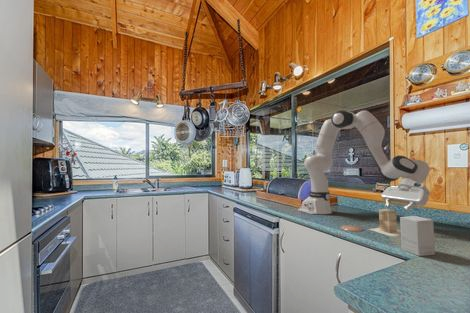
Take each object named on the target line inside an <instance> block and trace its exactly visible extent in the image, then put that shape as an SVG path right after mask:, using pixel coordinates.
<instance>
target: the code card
mask: <svg viewBox="0 0 470 313" xmlns="http://www.w3.org/2000/svg"><path fill="white" fill-rule="evenodd" d="M368 230H369V231H373V232H376V233H378V234H383V235H385V236H388V237H397V236H401V229H400V230H399V229H397V232H394V233H387V232H384V231H380V227H375V228H368Z"/></svg>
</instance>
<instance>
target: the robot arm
mask: <svg viewBox="0 0 470 313" xmlns="http://www.w3.org/2000/svg"><path fill="white" fill-rule="evenodd" d="M354 129H357V131H359V133H360V135H361V136H362V138H363V139H364V142H365V145H366V147H367V150H368V152H369V153H370V156H372V158H373V160H374V162H375V164H376V166H377V168H378V173H379V175H380V176H381V177H382V178H383V179H384V180H386V181H387V182H395V181H398V180H399V179H400V178H401V179H400V181H399V183H398V184H397V185H390V186H387V187H386V188H385V189H384V190H383V192H382V193H381V198H382V199H383V200H384V201H385V204H384V206H385V207H386V208H387V209H389V208H390V207H391V206H392V205H391V204H390V203H392V202H393V203H399V204H406V205H404V207H403V210H404V211H406V212H409V211H410V210H411V209H413V208H414V207H416V206H419V207H424V206H426V204H427V203H428V201H429V198H430V197H429V196H430V195H431V192H430V189H429V188H428V187H427V186H426V185H425V184H424V183H425V182H426V180H427V178H428V176H429V173H430V171H431V170H430V166H429V164H428V163H427V162H425V161H423V160H420V159H411V158H408V157H407V156H404V155H396V156H394V157H392V158H391V159H390V160H389V159H388V158H387V155H386V154H385V153H384V151H383V148H382V144H383V140H384V138H385V136H386V134H385V133H386V130H385V128H384V126H383V125H382V123H381V122H380V121H379V120H378V119H377V118H376V117H375V115H373V114H372V113H371V112H370V111H369V110H361V111H358V112H356V113H355V112H352V111H349V110H338V111H335V112H334V113H333V114H332V116H331V118H329V119H325V120H324V122H323V124H322V126H321V127H320V130H319V134H318V137H317V138H316V143H315V147H316V154H312V155H310V156H307V157H306V158H305V159H304V162H303V165H304V168H305V169H306V170H307V172H308V174H309V179H310V189H311V190H310V191H309V192H308V193H307V194H308V197H307V198H305V199H304V200H303V201H302V202H301V205H300V206H301V207H299V208H298V209H297V210H298V211H299V212H302V213H306V214H309V215H330V214H333V212H332V210H331V209H332V208H331V204H330V191H329V180H328V178H327V176H326V174H325V173H326V172H325V171H328V170H330V169H331V168H332V167H333V165H334V161H333V151H334V150H333V149H334V146H335V144H336V139H337V137H338V134H339V132H340V131H341V130H344V131H346V130H354Z"/></svg>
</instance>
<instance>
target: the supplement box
mask: <svg viewBox="0 0 470 313" xmlns="http://www.w3.org/2000/svg"><path fill="white" fill-rule="evenodd" d="M399 221H400V222H399V223H400V224H399V225H400V231H401V235H400V242H401V243H400V245H401V246H400V247H401V250H403V251H405V252H408V253H411V254H412V255H416V256H418V257H423V256H424V257H425V256H432V255H433V256H434V255H436V248H435V247H436V245H435V230H434V220H433V219H430V218H426V217H421V216H417V215H410V216H408V215H407V216H400V217H399Z"/></svg>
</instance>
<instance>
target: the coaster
mask: <svg viewBox="0 0 470 313" xmlns="http://www.w3.org/2000/svg"><path fill="white" fill-rule="evenodd" d="M340 228H341V230H342V231H346V232H353V233H359V232H363V231H364V228H363V227H361V226H359V225H358V226H357V225H353V224H352V225H351V224H350V225H348V224H347V225H342V226H340Z"/></svg>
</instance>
